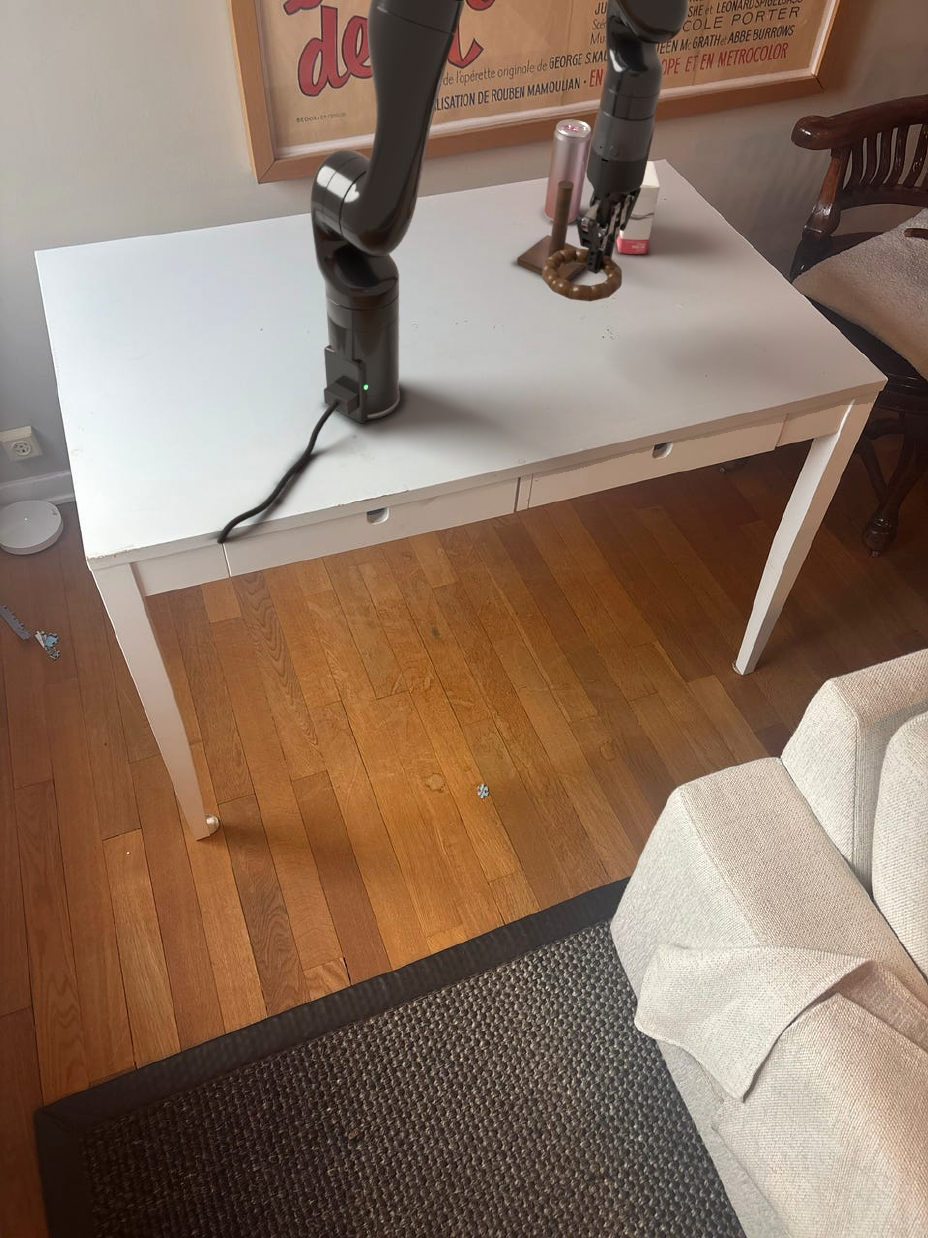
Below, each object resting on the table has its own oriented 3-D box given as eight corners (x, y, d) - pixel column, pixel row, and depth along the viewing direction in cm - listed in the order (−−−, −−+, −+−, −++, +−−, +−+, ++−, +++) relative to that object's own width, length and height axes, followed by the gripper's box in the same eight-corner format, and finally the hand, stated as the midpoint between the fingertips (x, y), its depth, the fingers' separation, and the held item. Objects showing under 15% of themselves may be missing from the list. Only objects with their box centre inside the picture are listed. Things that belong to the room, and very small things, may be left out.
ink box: (646, 255, 160) (661, 186, 151) (617, 253, 160) (630, 184, 151) (640, 227, 165) (654, 158, 156) (612, 225, 165) (624, 157, 156)
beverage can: (549, 203, 169) (561, 115, 157) (582, 210, 168) (596, 123, 156) (539, 219, 165) (550, 131, 153) (573, 227, 164) (586, 139, 152)
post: (563, 284, 153) (575, 206, 143) (516, 264, 156) (525, 185, 146) (592, 260, 158) (606, 183, 148) (546, 240, 161) (557, 163, 151)
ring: (594, 313, 129) (596, 300, 128) (526, 282, 133) (528, 269, 131) (634, 278, 135) (637, 265, 134) (568, 249, 139) (570, 236, 137)
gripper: (622, 116, 128) (600, 237, 141) (567, 153, 120) (548, 277, 134) (672, 135, 125) (644, 256, 139) (618, 173, 118) (594, 298, 131)
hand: (597, 266), depth 136 cm, fingers closed on ring, 2 cm apart
